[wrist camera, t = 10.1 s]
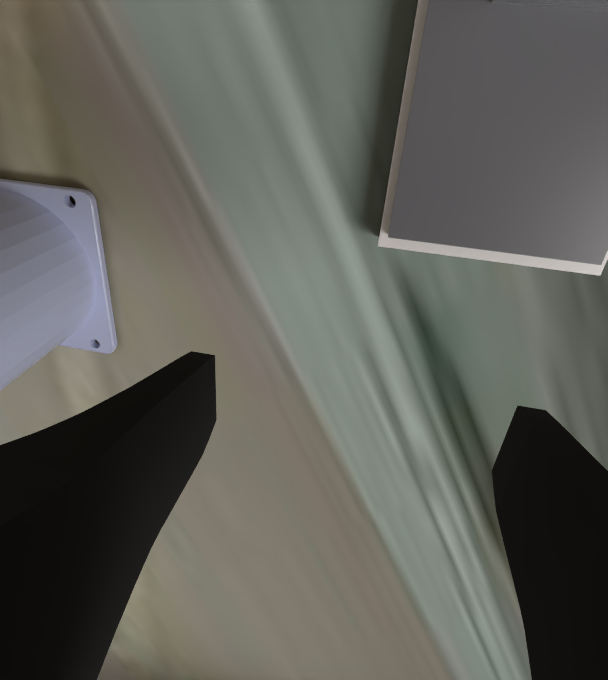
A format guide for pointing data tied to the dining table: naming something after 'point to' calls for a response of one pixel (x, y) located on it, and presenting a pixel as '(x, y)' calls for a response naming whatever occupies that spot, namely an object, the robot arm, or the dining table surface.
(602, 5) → the block
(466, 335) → the dining table surface
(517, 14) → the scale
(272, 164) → the dining table surface
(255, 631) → the dining table surface
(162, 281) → the dining table surface
